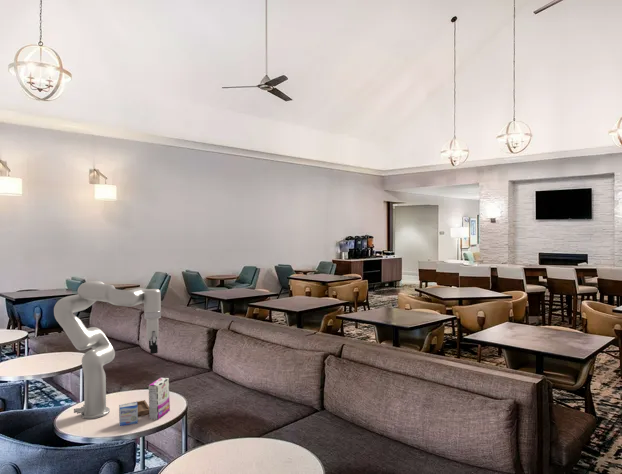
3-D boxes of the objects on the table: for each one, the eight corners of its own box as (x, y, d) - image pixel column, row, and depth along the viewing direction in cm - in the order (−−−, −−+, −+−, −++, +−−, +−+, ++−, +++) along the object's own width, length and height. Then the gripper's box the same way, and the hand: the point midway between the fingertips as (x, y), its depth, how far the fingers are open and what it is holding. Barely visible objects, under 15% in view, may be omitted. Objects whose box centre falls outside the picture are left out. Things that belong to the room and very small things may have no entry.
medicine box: (119, 426, 206) (119, 407, 206) (119, 422, 210) (119, 404, 210) (137, 423, 209) (137, 405, 209) (137, 419, 213) (137, 401, 213)
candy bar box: (160, 410, 225) (160, 377, 224) (170, 410, 224) (169, 377, 223) (148, 419, 214) (148, 384, 214) (158, 420, 213) (157, 385, 213)
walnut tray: (129, 418, 215) (129, 413, 215) (124, 408, 227) (124, 403, 227) (150, 414, 220) (150, 409, 219) (144, 404, 232) (144, 400, 231)
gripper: (143, 312, 222) (144, 347, 222) (145, 318, 206) (145, 356, 207) (159, 311, 225) (160, 345, 225) (162, 317, 209) (163, 354, 209)
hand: (153, 350), depth 216 cm, fingers open, 9 cm apart
